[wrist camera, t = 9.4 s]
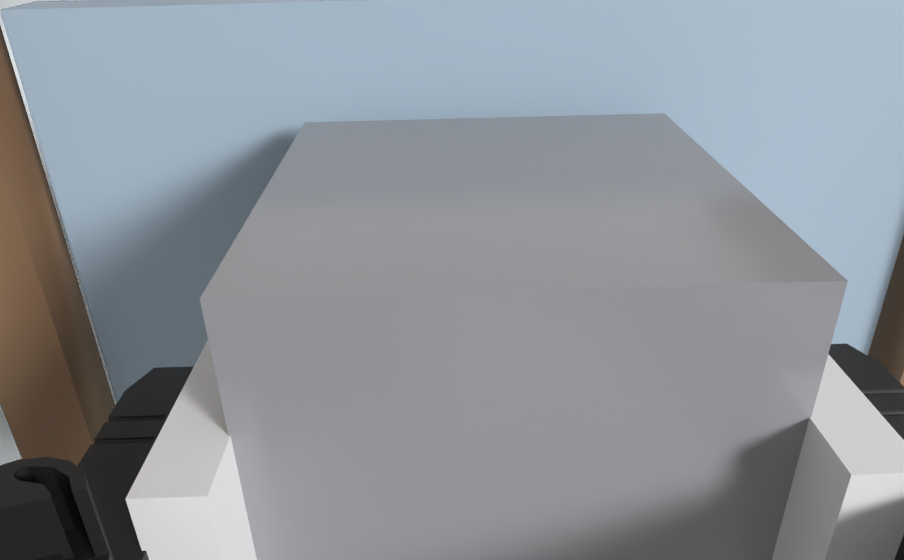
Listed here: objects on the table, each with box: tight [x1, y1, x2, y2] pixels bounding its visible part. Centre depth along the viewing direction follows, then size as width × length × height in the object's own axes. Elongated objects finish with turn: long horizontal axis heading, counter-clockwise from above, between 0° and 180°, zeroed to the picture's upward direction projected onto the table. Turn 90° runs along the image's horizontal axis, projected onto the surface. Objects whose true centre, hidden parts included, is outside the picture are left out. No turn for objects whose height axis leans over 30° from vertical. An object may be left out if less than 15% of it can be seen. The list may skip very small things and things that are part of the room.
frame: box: [0, 26, 904, 466], centre depth 21 cm, size 20×20×16 cm
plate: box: [0, 0, 904, 402], centre depth 16 cm, size 16×17×2 cm
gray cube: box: [200, 113, 848, 560], centre depth 11 cm, size 6×6×6 cm
